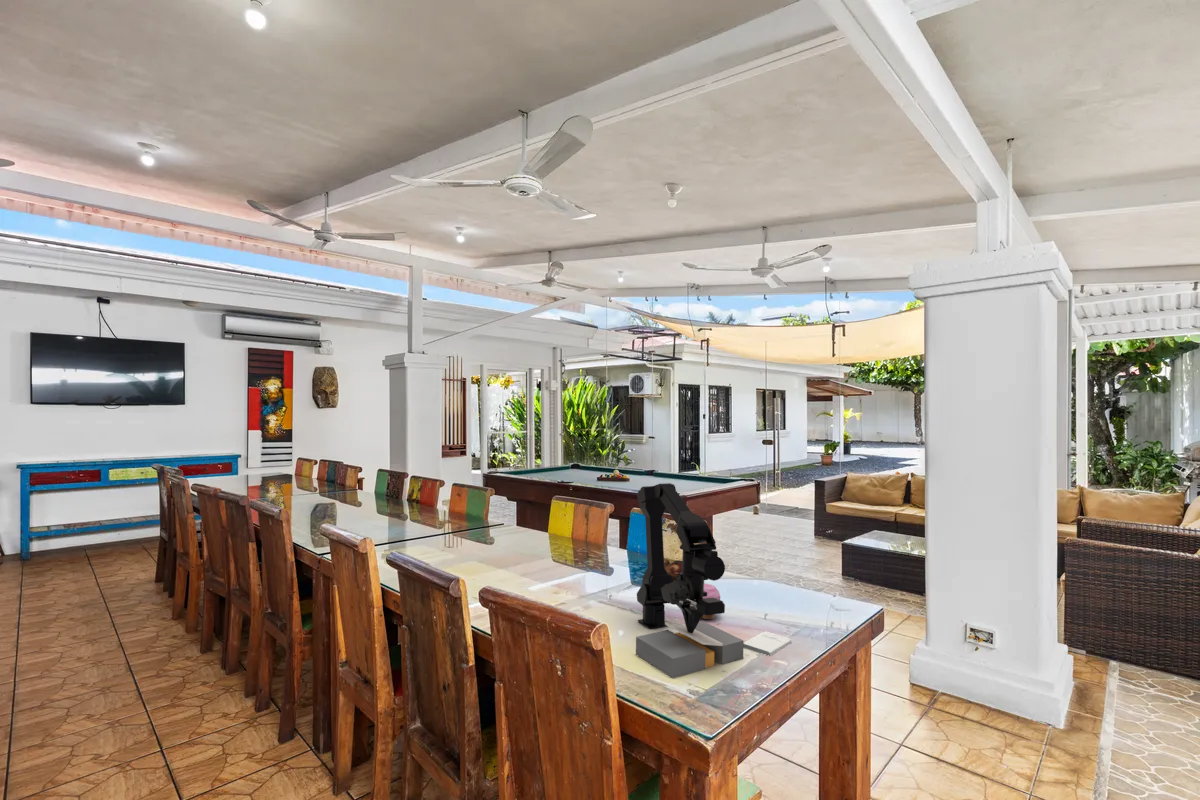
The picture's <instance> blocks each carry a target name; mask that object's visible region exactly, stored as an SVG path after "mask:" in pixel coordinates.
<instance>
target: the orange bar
mask: <svg viewBox="0 0 1200 800" xmlns="http://www.w3.org/2000/svg"><path fill="white" fill-rule="evenodd" d="M674 633H675V634H676V635H678V636H680V637H682V638H684V639H686V640H688V641H689V642H691V643H693V644H695V645H697V646H699V647H700V648H702V649H704V650H706V662H705V668H707V667H712V666H714V665H715V660H714V651H712V650H710V649H708V648H707V647H705V646H703V645H701V644H699V643H698V642H696V641H694V640H692V639H690V638H689V637H687V636H685V635H684V634H682V633H680V632H674Z"/></svg>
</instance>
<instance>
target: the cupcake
mask: <svg viewBox="0 0 1200 800" xmlns="http://www.w3.org/2000/svg"><path fill="white" fill-rule="evenodd" d="M704 591H705V592H707V596H705V597H703V598H704V599H705V598H716V599H718V600H721V595H720V591H719V590H718V589H717V587H716V586H715V585H713V584H709V583H705V582H704ZM695 600H696V599H695ZM714 618H715V614H714V615H704V614H703V616H702V617H701V619H702V620H703V619H704V620H713V619H714ZM701 619H700V620H701Z"/></svg>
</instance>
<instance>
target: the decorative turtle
mask: <svg viewBox="0 0 1200 800" xmlns="http://www.w3.org/2000/svg"><path fill="white" fill-rule="evenodd" d="M664 567H665V570H666V571H667V573H668V574H670V575H671V577H672V582H674V581H676V580H677V575H678V573H682V560H674V561H672V562H670V560H669V559H667V558H664Z"/></svg>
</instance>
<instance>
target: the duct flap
mask: <svg viewBox="0 0 1200 800" xmlns="http://www.w3.org/2000/svg"><path fill="white" fill-rule="evenodd" d="M665 625H666V626H667V627H669V628H671V629H672V630H675V631H677V633H679V632H680V633H681V634H683V635H686V636H688V637H689V638H691V639H693V640H695V641H697V642H699V643H701V644H703V645H715V646H722V645H723V643H721V642H719V641H717V640H715V639H713V638H711V637H709V636H707V635H705V634H703V633H701V632H699V631H697V630H694V632H693V633H689V632H688V631H687V627H686V624H685V623H680V622H669V621H665Z"/></svg>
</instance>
